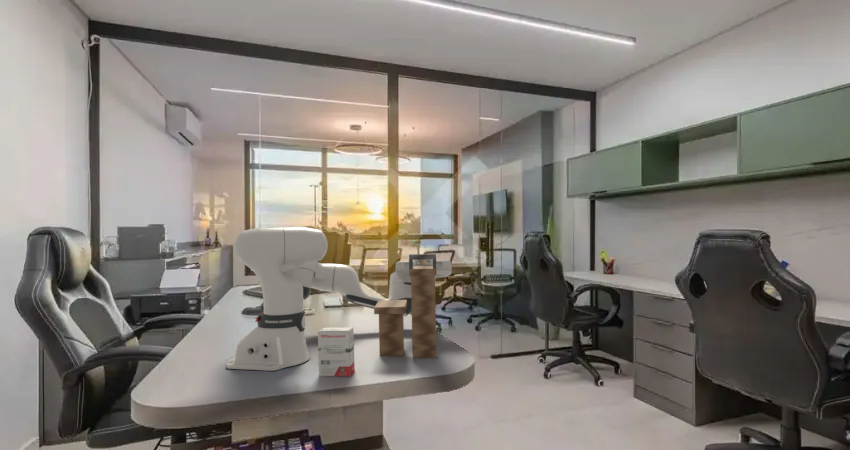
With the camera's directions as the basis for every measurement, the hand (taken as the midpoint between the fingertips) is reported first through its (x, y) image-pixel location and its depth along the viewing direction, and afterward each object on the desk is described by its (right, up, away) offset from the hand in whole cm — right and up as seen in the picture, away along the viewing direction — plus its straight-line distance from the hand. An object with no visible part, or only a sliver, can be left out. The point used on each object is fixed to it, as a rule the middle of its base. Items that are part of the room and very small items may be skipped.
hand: (423, 259), depth 144 cm
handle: (0, -1, -4) cm, 4 cm away
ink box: (-23, -27, -35) cm, 50 cm away
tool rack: (-5, -27, -17) cm, 32 cm away
